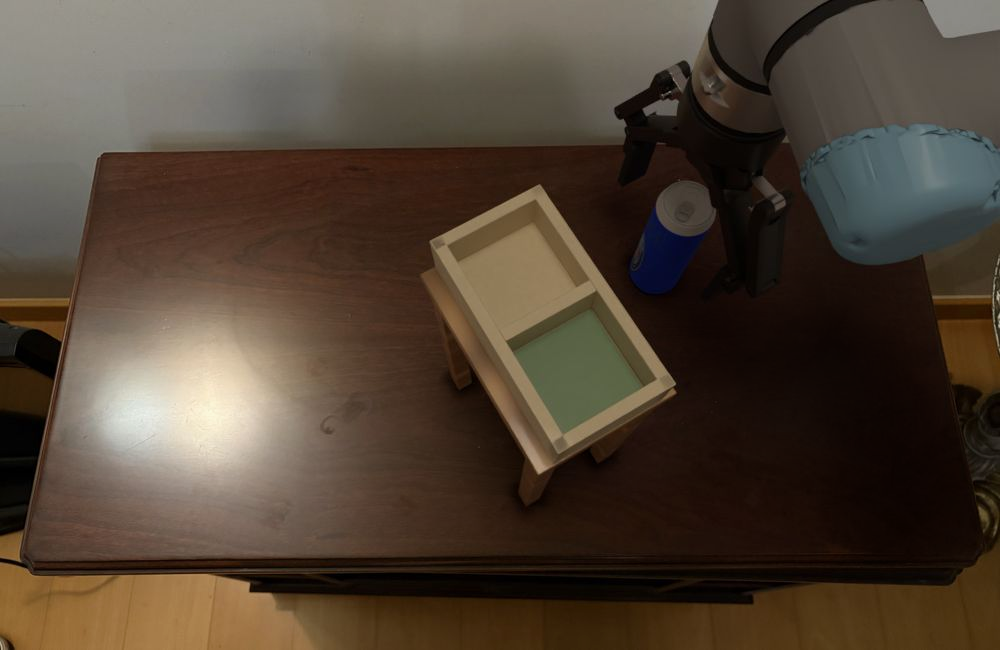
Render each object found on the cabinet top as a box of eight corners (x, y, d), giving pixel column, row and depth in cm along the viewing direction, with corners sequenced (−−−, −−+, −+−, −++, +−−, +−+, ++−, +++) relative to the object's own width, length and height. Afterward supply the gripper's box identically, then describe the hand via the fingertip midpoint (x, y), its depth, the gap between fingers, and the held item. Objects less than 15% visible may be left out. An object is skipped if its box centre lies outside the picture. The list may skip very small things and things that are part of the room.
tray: (661, 400, 43) (676, 384, 40) (553, 464, 42) (558, 454, 38) (537, 214, 48) (539, 183, 44) (435, 267, 46) (429, 240, 43)
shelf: (614, 456, 68) (677, 392, 44) (525, 510, 67) (538, 475, 42) (533, 329, 72) (550, 205, 48) (448, 376, 71) (419, 274, 46)
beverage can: (642, 243, 76) (674, 167, 61) (685, 265, 75) (729, 194, 60) (619, 281, 74) (647, 213, 60) (663, 305, 73) (702, 241, 59)
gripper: (594, -20, 49) (566, 150, 69) (821, 269, 42) (717, 364, 62) (683, -62, 50) (631, 117, 70) (919, 212, 43) (785, 324, 63)
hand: (671, 233), depth 66 cm, fingers open, 13 cm apart
